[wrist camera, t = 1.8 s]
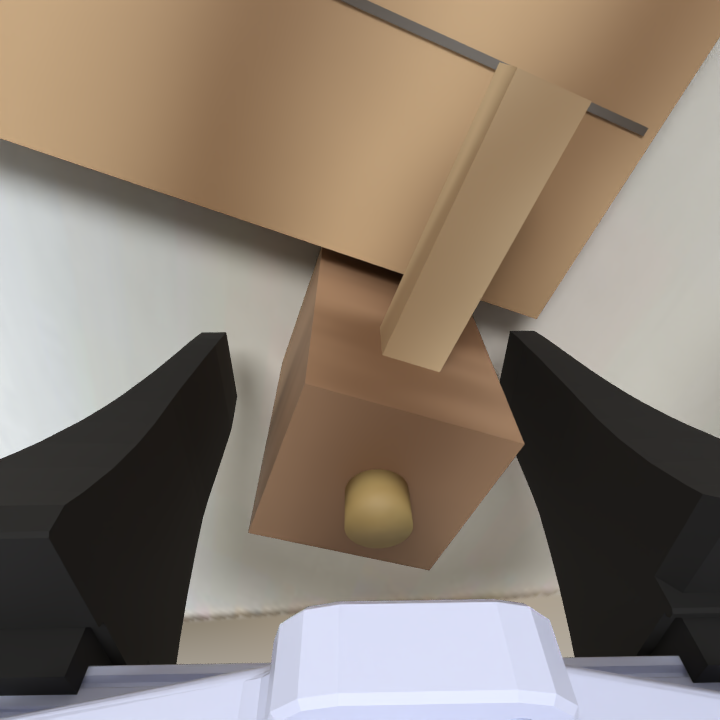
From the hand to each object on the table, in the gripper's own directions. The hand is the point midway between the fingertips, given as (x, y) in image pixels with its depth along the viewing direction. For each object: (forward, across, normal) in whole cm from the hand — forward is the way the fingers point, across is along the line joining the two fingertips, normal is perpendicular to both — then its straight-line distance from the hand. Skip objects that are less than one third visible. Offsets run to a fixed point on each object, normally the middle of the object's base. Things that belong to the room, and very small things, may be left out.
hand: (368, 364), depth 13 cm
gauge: (+2, -1, -2) cm, 3 cm away
